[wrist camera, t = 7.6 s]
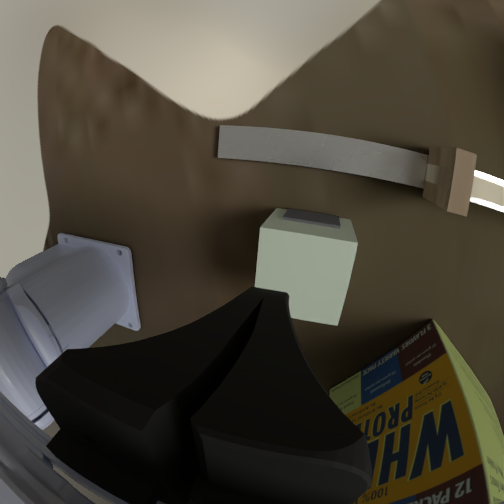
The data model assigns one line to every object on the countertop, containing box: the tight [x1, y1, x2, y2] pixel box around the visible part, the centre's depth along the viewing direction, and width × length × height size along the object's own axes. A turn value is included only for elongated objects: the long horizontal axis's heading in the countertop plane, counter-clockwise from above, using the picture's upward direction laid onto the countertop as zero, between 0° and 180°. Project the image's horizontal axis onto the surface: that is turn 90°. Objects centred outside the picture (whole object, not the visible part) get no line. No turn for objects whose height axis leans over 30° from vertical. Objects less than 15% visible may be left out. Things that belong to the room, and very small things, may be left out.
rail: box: [218, 125, 504, 212], centre depth 13 cm, size 26×2×1 cm, turn 86°
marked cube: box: [255, 208, 358, 326], centre depth 15 cm, size 4×5×4 cm
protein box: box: [329, 320, 504, 504], centre depth 12 cm, size 10×15×16 cm
